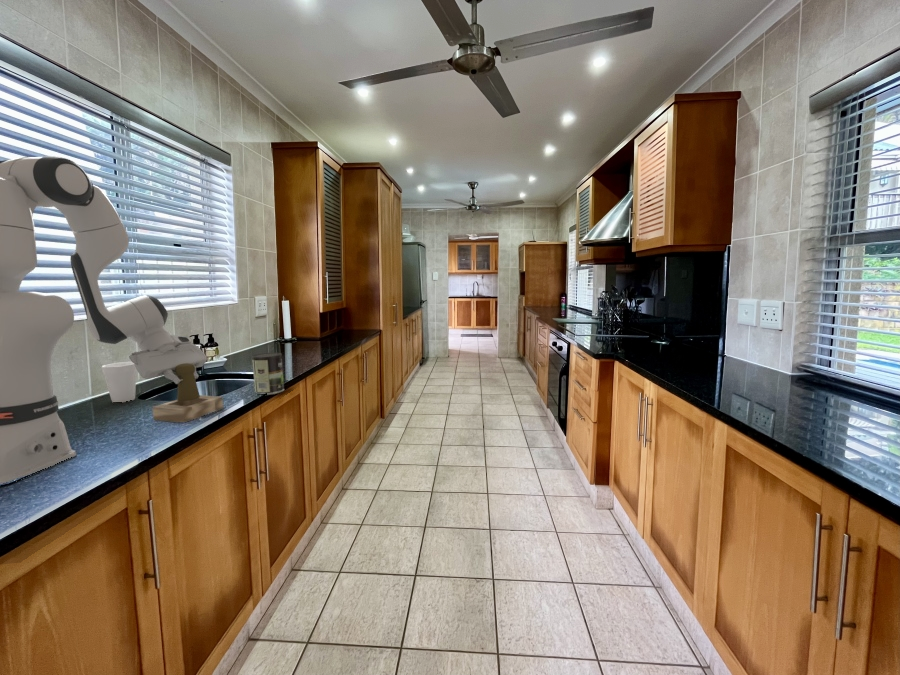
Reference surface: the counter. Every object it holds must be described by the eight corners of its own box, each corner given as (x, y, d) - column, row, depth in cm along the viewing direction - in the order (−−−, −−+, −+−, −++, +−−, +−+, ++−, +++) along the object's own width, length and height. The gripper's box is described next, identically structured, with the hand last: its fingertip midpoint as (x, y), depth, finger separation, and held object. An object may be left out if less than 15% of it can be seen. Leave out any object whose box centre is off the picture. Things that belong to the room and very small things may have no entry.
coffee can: (284, 386, 160) (282, 351, 158) (284, 393, 150) (281, 355, 148) (255, 389, 156) (252, 353, 154) (253, 396, 146) (250, 358, 144)
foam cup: (139, 395, 151) (135, 360, 149) (141, 400, 144) (136, 364, 142) (106, 400, 145) (101, 364, 143) (106, 405, 138) (101, 368, 136)
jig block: (184, 423, 119) (182, 409, 118) (153, 419, 122) (152, 406, 122) (223, 408, 132) (222, 396, 131) (195, 406, 136) (193, 394, 135)
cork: (189, 401, 123) (184, 366, 122) (172, 400, 124) (167, 365, 123) (204, 395, 129) (200, 362, 127) (188, 395, 130) (184, 361, 129)
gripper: (130, 346, 116) (160, 381, 115) (194, 336, 136) (220, 366, 134) (121, 361, 118) (150, 395, 117) (185, 349, 138) (210, 379, 136)
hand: (188, 380), depth 126 cm, fingers closed on cork, 4 cm apart
